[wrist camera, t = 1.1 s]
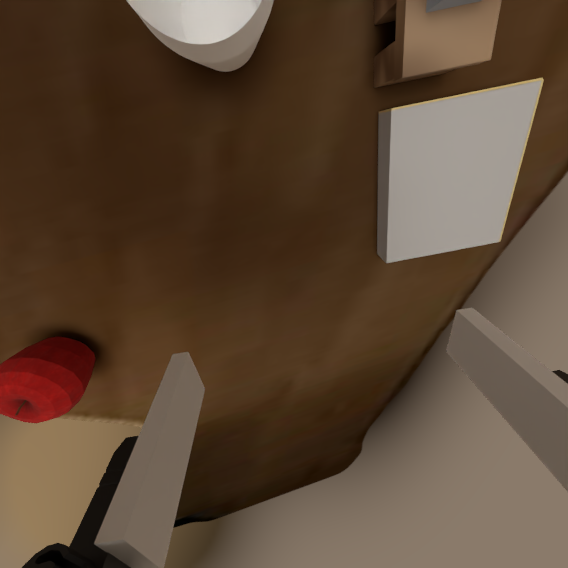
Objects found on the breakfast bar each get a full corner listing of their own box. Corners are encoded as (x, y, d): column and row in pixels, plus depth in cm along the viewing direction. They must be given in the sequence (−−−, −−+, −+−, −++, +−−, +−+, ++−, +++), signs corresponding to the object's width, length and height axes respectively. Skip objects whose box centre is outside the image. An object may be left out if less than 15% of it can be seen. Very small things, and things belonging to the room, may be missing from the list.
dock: (378, 111, 26) (391, 108, 24) (516, 83, 26) (544, 77, 23) (377, 253, 34) (386, 263, 32) (481, 233, 34) (500, 241, 31)
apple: (106, 326, 37) (52, 390, 27) (114, 372, 41) (70, 440, 32) (28, 318, 35) (-57, 383, 26) (46, 367, 40) (-22, 437, 30)
